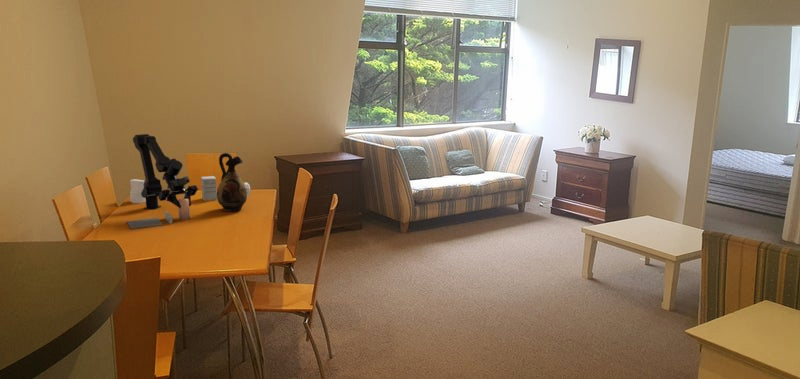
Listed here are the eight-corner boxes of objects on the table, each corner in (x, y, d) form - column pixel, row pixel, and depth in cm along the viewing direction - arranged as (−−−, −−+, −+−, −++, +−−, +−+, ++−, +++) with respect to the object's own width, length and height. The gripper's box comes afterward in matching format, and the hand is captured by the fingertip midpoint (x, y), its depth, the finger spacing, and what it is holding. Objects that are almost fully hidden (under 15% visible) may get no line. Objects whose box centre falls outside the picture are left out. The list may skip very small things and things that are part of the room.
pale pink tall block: (182, 217, 296) (181, 198, 294) (191, 218, 295) (190, 198, 293) (177, 220, 291) (176, 200, 289) (186, 220, 290) (185, 200, 288)
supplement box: (202, 198, 338) (200, 176, 335) (215, 197, 341) (214, 175, 338) (203, 201, 331) (202, 179, 329) (217, 200, 334) (216, 178, 332)
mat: (126, 222, 286) (126, 221, 286) (157, 218, 293) (157, 217, 293) (131, 229, 274) (131, 228, 274) (163, 225, 281) (162, 224, 281)
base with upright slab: (127, 202, 327) (125, 180, 324) (140, 199, 334) (139, 178, 332) (138, 204, 323) (136, 182, 320) (151, 200, 330) (150, 179, 328)
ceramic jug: (251, 206, 320) (249, 151, 314) (241, 213, 305) (239, 156, 299) (221, 205, 322) (218, 150, 315) (209, 212, 307) (206, 155, 300)
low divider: (165, 218, 294) (164, 211, 293) (167, 218, 295) (166, 211, 294) (170, 223, 284) (169, 216, 283) (172, 223, 285) (171, 216, 284)
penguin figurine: (250, 182, 339) (229, 186, 333) (252, 197, 341) (231, 201, 335) (247, 181, 344) (226, 184, 338) (249, 195, 346) (228, 199, 340)
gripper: (159, 174, 284) (172, 200, 279) (195, 169, 298) (208, 194, 293) (152, 187, 291) (165, 213, 286) (187, 182, 304) (200, 206, 300)
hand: (185, 206), depth 291 cm, fingers closed on pale pink tall block, 5 cm apart
